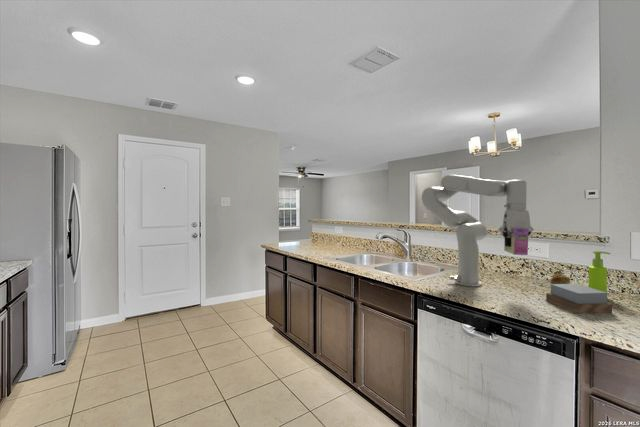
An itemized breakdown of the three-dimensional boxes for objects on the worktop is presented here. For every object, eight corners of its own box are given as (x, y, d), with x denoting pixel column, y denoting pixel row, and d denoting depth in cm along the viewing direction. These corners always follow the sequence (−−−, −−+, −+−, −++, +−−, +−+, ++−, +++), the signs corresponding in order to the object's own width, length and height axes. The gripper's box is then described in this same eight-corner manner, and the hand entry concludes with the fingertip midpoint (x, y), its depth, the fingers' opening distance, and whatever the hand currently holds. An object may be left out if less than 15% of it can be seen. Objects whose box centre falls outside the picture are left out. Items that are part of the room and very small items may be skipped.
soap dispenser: (611, 300, 124) (612, 253, 124) (590, 297, 128) (590, 252, 128) (607, 296, 129) (608, 251, 129) (586, 294, 133) (587, 250, 133)
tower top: (578, 303, 111) (578, 293, 111) (550, 293, 124) (550, 284, 124) (607, 303, 111) (607, 292, 111) (576, 293, 124) (576, 283, 124)
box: (528, 255, 129) (528, 228, 129) (513, 254, 130) (514, 228, 130) (517, 251, 139) (517, 226, 139) (504, 251, 140) (504, 226, 140)
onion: (545, 286, 147) (546, 270, 146) (555, 284, 150) (555, 268, 149) (563, 290, 140) (563, 273, 139) (573, 288, 143) (573, 271, 143)
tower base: (578, 315, 110) (578, 304, 110) (546, 302, 125) (546, 293, 125) (612, 314, 110) (612, 304, 110) (576, 301, 125) (576, 292, 125)
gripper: (502, 207, 130) (502, 247, 131) (541, 207, 130) (540, 247, 131) (492, 207, 138) (492, 245, 138) (528, 206, 138) (528, 244, 139)
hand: (515, 245), depth 135 cm, fingers closed on box, 6 cm apart
